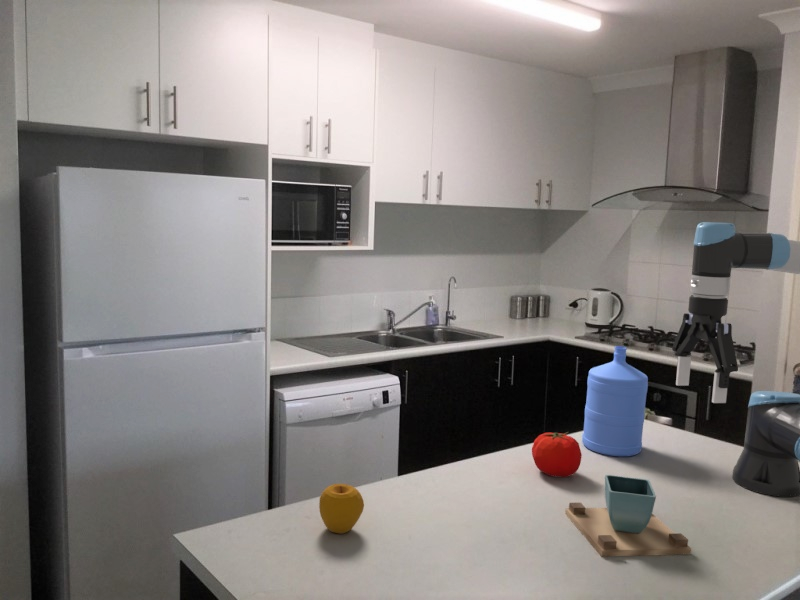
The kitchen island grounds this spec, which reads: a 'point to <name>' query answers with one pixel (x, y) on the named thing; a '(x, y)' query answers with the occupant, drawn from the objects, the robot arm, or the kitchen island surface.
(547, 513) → the kitchen island surface
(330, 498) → the apple
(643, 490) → the flower pot
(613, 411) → the water jug
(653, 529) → the trivet
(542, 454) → the tomato
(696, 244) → the robot arm
